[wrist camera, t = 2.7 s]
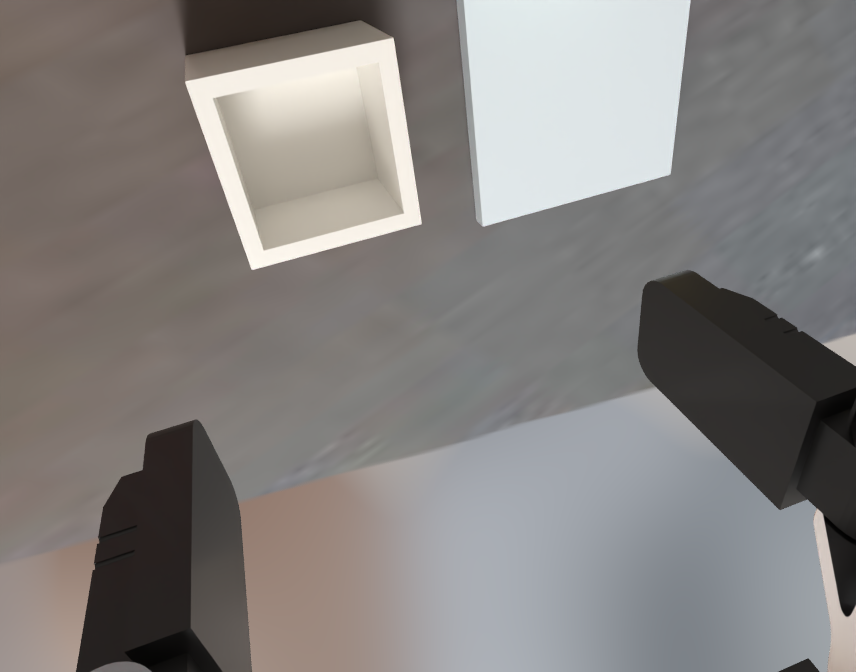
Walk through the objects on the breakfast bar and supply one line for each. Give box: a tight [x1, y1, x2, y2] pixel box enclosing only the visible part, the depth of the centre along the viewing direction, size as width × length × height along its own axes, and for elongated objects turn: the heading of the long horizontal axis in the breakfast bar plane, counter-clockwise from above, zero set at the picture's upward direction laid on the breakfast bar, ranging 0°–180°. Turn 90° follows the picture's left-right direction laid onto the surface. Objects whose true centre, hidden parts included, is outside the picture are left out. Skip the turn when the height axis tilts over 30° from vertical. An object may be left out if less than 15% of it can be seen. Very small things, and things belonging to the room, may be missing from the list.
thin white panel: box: [456, 0, 690, 226], centre depth 26 cm, size 10×10×1 cm
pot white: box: [185, 20, 422, 270], centre depth 22 cm, size 6×6×4 cm
